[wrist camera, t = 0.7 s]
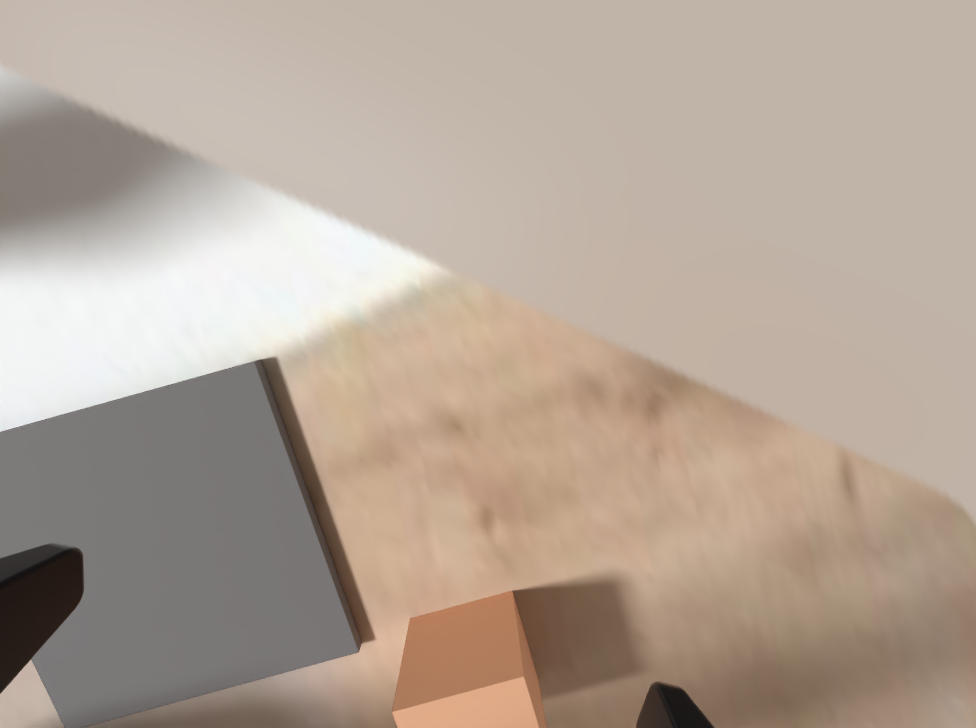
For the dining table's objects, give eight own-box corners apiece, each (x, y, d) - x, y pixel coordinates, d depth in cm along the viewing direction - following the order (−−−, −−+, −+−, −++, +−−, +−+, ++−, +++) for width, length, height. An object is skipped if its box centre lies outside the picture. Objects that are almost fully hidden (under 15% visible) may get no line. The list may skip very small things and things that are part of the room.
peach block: (439, 706, 23) (430, 821, 18) (410, 617, 22) (391, 712, 17) (538, 679, 23) (556, 787, 18) (512, 589, 22) (523, 676, 17)
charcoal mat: (77, 720, 22) (66, 732, 21) (-54, 447, 20) (-71, 451, 19) (361, 642, 22) (358, 652, 21) (260, 359, 20) (254, 361, 19)
